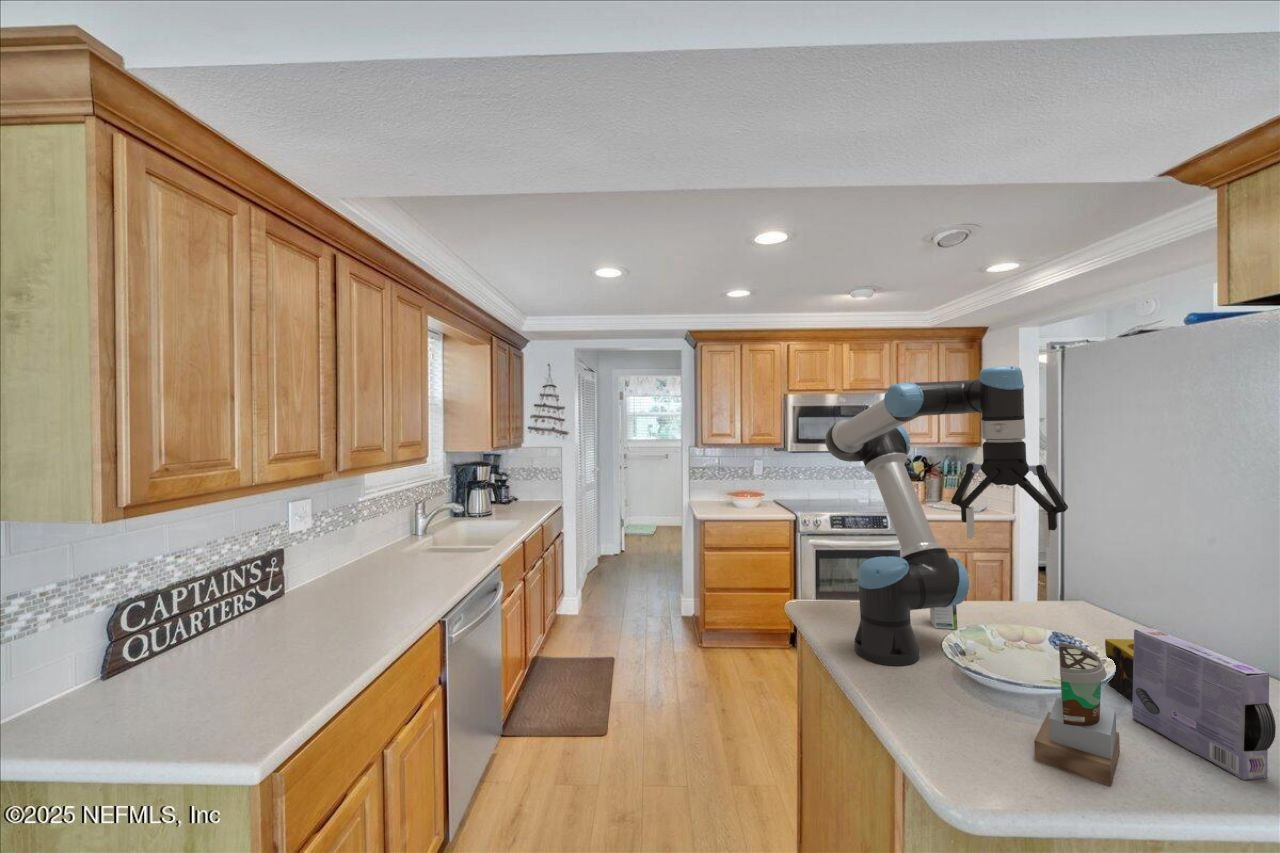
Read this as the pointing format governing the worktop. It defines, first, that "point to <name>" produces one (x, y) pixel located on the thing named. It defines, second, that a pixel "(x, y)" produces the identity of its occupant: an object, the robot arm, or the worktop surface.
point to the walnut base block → (1075, 757)
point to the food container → (1080, 685)
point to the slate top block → (1085, 731)
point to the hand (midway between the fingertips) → (1007, 541)
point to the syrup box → (944, 617)
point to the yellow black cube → (1121, 665)
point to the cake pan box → (1203, 702)
